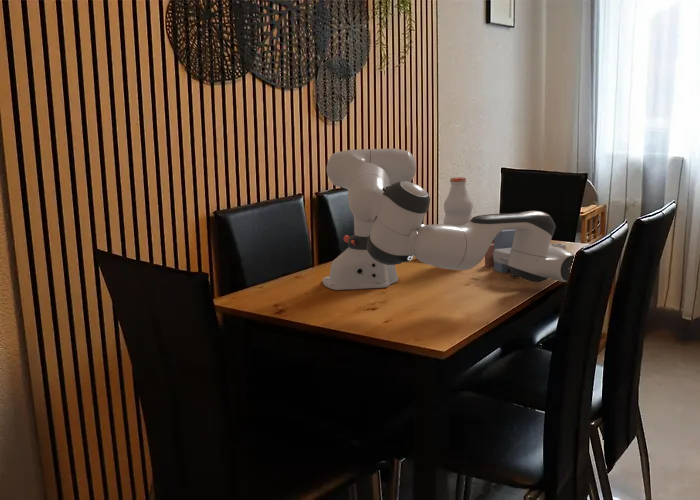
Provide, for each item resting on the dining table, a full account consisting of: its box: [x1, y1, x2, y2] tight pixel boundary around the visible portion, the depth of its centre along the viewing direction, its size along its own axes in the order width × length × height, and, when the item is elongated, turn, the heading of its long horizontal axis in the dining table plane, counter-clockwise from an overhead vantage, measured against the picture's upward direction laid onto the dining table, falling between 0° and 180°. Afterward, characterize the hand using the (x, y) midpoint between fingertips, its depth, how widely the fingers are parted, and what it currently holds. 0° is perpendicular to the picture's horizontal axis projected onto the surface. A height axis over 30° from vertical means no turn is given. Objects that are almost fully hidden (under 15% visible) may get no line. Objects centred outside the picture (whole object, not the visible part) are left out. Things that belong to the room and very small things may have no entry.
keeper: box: [493, 230, 515, 274], centre depth 215 cm, size 8×5×13 cm, turn 106°
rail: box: [484, 244, 521, 279], centre depth 216 cm, size 7×18×7 cm, turn 16°
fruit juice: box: [443, 176, 474, 226], centre depth 225 cm, size 9×9×28 cm
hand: (514, 249), depth 213 cm, fingers closed, pressing on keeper
